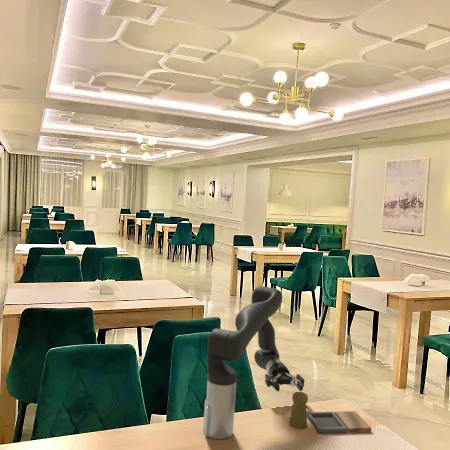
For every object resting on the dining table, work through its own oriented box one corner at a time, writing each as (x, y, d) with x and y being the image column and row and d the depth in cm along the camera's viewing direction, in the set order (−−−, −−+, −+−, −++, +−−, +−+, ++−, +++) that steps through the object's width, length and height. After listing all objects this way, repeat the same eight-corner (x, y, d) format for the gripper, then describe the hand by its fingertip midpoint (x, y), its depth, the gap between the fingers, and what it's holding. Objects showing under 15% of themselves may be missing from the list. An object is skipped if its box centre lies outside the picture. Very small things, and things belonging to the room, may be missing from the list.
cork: (305, 420, 165) (307, 389, 164) (308, 429, 159) (311, 397, 158) (287, 420, 165) (290, 389, 164) (290, 428, 159) (293, 396, 158)
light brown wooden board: (348, 432, 159) (348, 428, 159) (334, 415, 170) (334, 411, 170) (370, 432, 160) (371, 427, 160) (355, 415, 172) (355, 411, 172)
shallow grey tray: (318, 433, 157) (318, 428, 157) (306, 416, 169) (306, 412, 168) (347, 432, 159) (347, 428, 158) (332, 415, 170) (333, 411, 170)
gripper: (260, 362, 187) (271, 378, 171) (295, 362, 189) (309, 378, 173) (259, 380, 187) (270, 399, 171) (294, 380, 190) (308, 398, 174)
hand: (290, 388), depth 172 cm, fingers open, 8 cm apart
